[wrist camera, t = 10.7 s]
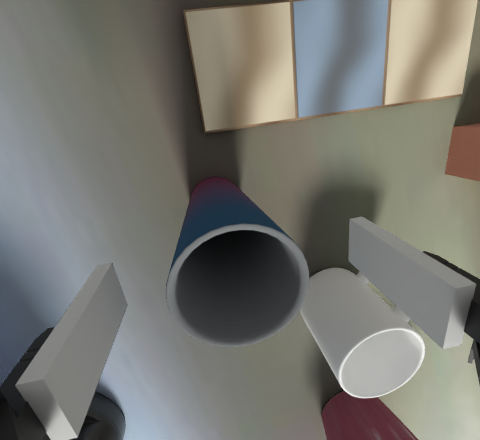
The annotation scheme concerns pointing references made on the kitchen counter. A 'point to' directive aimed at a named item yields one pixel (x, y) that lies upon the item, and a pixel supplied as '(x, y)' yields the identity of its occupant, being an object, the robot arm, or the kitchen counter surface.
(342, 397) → the plant pot
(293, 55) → the multicoloured flat piece
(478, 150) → the die
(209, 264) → the cup
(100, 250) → the kitchen counter surface
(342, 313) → the mug
